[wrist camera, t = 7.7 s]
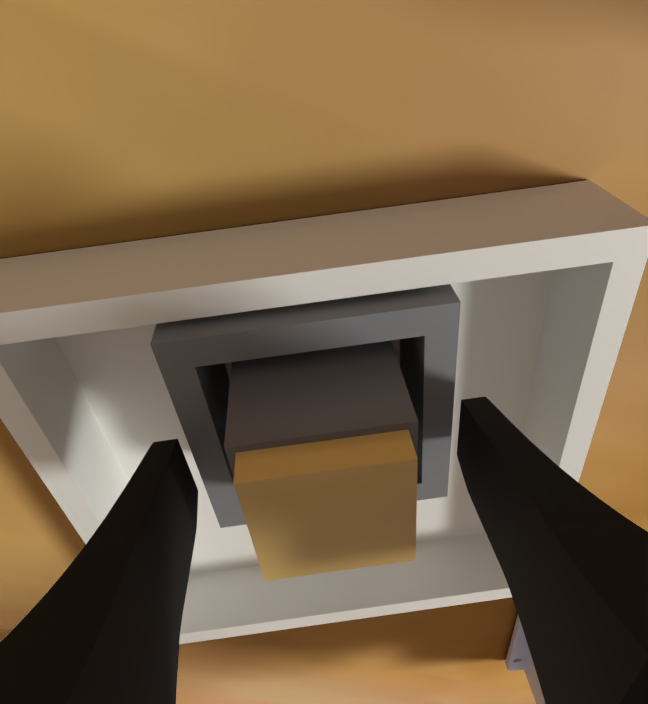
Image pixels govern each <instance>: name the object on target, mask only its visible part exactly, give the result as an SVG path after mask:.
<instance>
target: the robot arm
mask: <svg viewBox="0 0 648 704" xmlns="http://www.w3.org/2000/svg"><path fill="white" fill-rule="evenodd" d="M457 457H458V460H459V464H460V467H461V471H462V474H463V477H464V481H465V484H466V487H467V490H468V493H469V495H470V498H471V500H472V502H473V505H474V507H475V509H476V512H477V514H478V516H479V518H480V521H481V523H482V525H483V528H484V530H485V532H486V534H487V537H488V539H489V541H490V543H491V546H492V548H493V550H494V553H495V555H496V557H497V559H498V562H499V564H500V566H501V569H502V571H503V573H504V576H505V578H506V581H507V584H508V586H509V589H510V592H511V595H512V598H513V601H514V604H515V607H516V610H517V613H518V616H517V620H516V623H515V627H514V631H513V635H512V639H511V643H510V646H509V650H508V654H507V658H506V662H505V663H506V666H507V669H508V670H510V671H515V670H522V669H524V671H525V674H526V677H527V679H528V682H529V685H530V687H531V690H532V693H533V696H534V698H535V701H536V704H648V532H647V531H645V530H644V529H642V528H641V527H639V526H637V525H636V524H634V523H633V522H631V521H630V520H628V519H627V518H626V517H624V516H623V515H621V514H620V513H618V512H617V511H615V510H614V509H613V508H611V507H610V506H608V505H607V504H606V503H604V502H603V501H602V500H600V499H599V498H598V497H596V496H595V495H594V494H592V493H591V492H590V491H588V490H587V489H586V488H585V487H583V486H582V485H581V484H579V483H578V482H577V481H576V480H575V479H573V478H572V477H571V476H570V475H569V474H567V473H566V472H565V471H564V470H563V469H561V468H560V467H559V466H558V465H557V464H556V463H554V462H553V461H552V460H551V459H550V458H549V457H548V456H547V455H545V454H544V453H543V452H542V451H541V450H540V449H539V448H538V447H537V446H536V445H534V444H533V443H532V442H531V441H530V440H529V439H528V438H527V437H526V436H525V435H524V434H523V433H522V432H521V431H520V430H519V429H518V428H517V427H516V426H515V425H514V424H513V423H512V422H511V421H510V420H509V419H508V418H507V417H506V416H505V415H504V414H503V413H502V412H501V411H500V410H499V409H498V408H497V407H496V406H495V405H494V404H493V403H492V402H491V401H490V400H489V399H488V398H486V397H477V398H470V399H463V400H461V408H460V420H459V433H458V445H457ZM197 512H198V489H197V486H196V484H195V481H194V479H193V476H192V474H191V471H190V469H189V466H188V463H187V461H186V458H185V456H184V453H183V451H182V448H181V446H180V443H179V441H178V439H172V440H165V441H158V442H153V443H152V445H151V446H150V448H149V449H148V451H147V452H146V454H145V456H144V457H143V459H142V461H141V462H140V464H139V466H138V467H137V469H136V471H135V472H134V474H133V475H132V477H131V479H130V480H129V482H128V483H127V485H126V487H125V488H124V490H123V491H122V493H121V494H120V496H119V497H118V499H117V501H116V502H115V504H114V505H113V507H112V508H111V510H110V511H109V513H108V514H107V516H106V517H105V519H104V520H103V521H102V523H101V524H100V526H99V527H98V528H97V530H96V531H95V533H94V534H93V535H92V537H91V538H90V539H89V541H88V542H87V544H86V545H85V546H84V548H83V549H82V550H81V552H80V553H79V554H78V556H77V557H76V558H75V560H74V561H73V562H72V563H71V565H70V566H69V567H68V568H67V570H66V571H65V572H64V573H63V575H62V576H61V577H60V578H59V579H58V581H57V582H56V583H55V584H54V585H53V586H52V588H51V589H50V590H49V591H48V592H47V593H46V595H45V596H44V597H43V598H42V599H41V600H40V601H39V602H38V603H37V605H36V606H35V607H34V608H33V609H32V610H31V611H30V612H29V613H28V614H27V616H26V617H25V618H24V619H23V620H22V621H21V622H20V623H19V624H18V625H17V626H16V627H15V628H14V629H13V630H12V631H11V632H10V633H9V635H8V636H7V637H6V638H5V639H3V640H2V641H1V642H0V704H176V685H177V668H178V654H179V640H180V630H181V622H182V615H183V609H184V603H185V597H186V591H187V585H188V579H189V573H190V567H191V561H192V555H193V549H194V542H195V536H196V530H197Z"/></svg>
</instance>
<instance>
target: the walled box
mask: <svg viewBox="0 0 648 704" xmlns="http://www.w3.org/2000/svg"><path fill="white" fill-rule="evenodd" d="M647 258H648V218H647V217H646V216H644V215H643V214H641V213H640V212H638V211H636V210H635V209H633V208H632V207H630V206H629V205H627V204H626V203H624V202H623V201H621V200H619V199H618V198H616V197H615V196H613V195H612V194H610V193H609V192H607V191H606V190H604V189H603V188H601V187H599V186H598V185H596V184H595V183H593V182H592V181H590V180H586V181H579V182H571V183H564V184H556V185H549V186H541V187H534V188H526V189H519V190H512V191H504V192H497V193H489V194H482V195H474V196H467V197H459V198H452V199H444V200H437V201H429V202H422V203H414V204H407V205H400V206H392V207H385V208H377V209H370V210H362V211H355V212H347V213H340V214H332V215H325V216H317V217H310V218H302V219H295V220H288V221H280V222H273V223H265V224H258V225H250V226H243V227H235V228H228V229H220V230H213V231H205V232H198V233H190V234H183V235H176V236H168V237H161V238H153V239H146V240H138V241H131V242H123V243H116V244H108V245H101V246H93V247H86V248H78V249H71V250H64V251H56V252H49V253H41V254H34V255H26V256H19V257H11V258H4V259H0V419H1V420H2V422H3V423H4V425H5V426H6V428H7V429H8V430H9V432H10V433H11V435H12V436H13V438H14V439H15V441H16V442H17V444H18V445H19V447H20V448H21V450H22V451H23V453H24V454H25V456H26V457H27V459H28V460H29V461H30V463H31V464H32V466H33V467H34V469H35V470H36V472H37V473H38V475H39V476H40V478H41V479H42V481H43V482H44V484H45V485H46V487H47V488H48V489H49V491H50V492H51V494H52V495H53V497H54V498H55V500H56V501H57V503H58V504H59V506H60V507H61V509H62V510H63V512H64V513H65V515H66V516H67V518H68V519H69V520H70V522H71V523H72V525H73V526H74V528H75V529H76V531H77V532H78V534H79V535H80V537H81V538H82V540H83V541H84V543H85V544H87V542H88V541H89V539H90V538H91V537H92V535H93V534H94V533H95V531H96V530H97V528H98V527H99V526H100V524H101V523H102V521H103V520H104V519H105V517H106V516H107V514H108V513H109V511H110V510H111V508H112V507H113V505H114V504H115V502H116V501H117V499H118V497H119V496H120V494H121V493H122V491H123V490H124V488H125V487H126V485H127V483H128V482H129V480H130V479H131V477H132V475H133V474H134V472H135V471H136V469H137V467H138V466H139V464H140V462H141V461H142V459H143V457H144V456H145V454H146V452H147V451H148V449H149V448H150V446H151V445H152V443H153V442H158V441H165V440H172V439H178V441H179V443H180V446H181V448H182V451H183V453H184V456H185V458H186V461H187V463H188V466H189V469H190V471H191V474H192V476H193V479H194V481H195V484H196V486H197V489H198V512H197V530H196V536H195V542H194V549H193V555H192V561H191V567H190V573H189V579H188V585H187V591H186V597H185V603H184V609H183V615H182V622H181V630H180V640H179V644H185V643H192V642H200V641H207V640H214V639H221V638H228V637H235V636H242V635H249V634H256V633H263V632H270V631H277V630H284V629H292V628H299V627H306V626H313V625H320V624H327V623H334V622H341V621H348V620H355V619H362V618H369V617H376V616H383V615H391V614H398V613H405V612H412V611H419V610H426V609H433V608H440V607H447V606H454V605H461V604H468V603H475V602H483V601H490V600H497V599H504V598H511V597H512V595H511V592H510V589H509V586H508V584H507V581H506V578H505V576H504V573H503V571H502V569H501V566H500V564H499V562H498V559H497V557H496V555H495V553H494V550H493V548H492V546H491V543H490V541H489V539H488V537H487V534H486V532H485V530H484V528H483V525H482V523H481V521H480V518H479V516H478V514H477V512H476V509H475V507H474V505H473V502H472V500H471V498H470V495H469V493H468V490H467V487H466V484H465V481H464V477H463V474H462V471H461V467H460V464H459V460H458V457H457V445H458V433H459V420H460V408H461V400H463V399H470V398H477V397H486V398H488V399H489V400H490V401H491V402H492V403H493V404H494V405H495V406H496V407H497V408H498V409H499V410H500V411H501V412H502V413H503V414H504V415H505V416H506V417H507V418H508V419H509V420H510V421H511V422H512V423H513V424H514V425H515V426H516V427H517V428H518V429H519V430H520V431H521V432H522V433H523V434H524V435H525V436H526V437H527V438H528V439H529V440H530V441H531V442H532V443H533V444H534V445H536V446H537V447H538V448H539V449H540V450H541V451H542V452H543V453H544V454H545V455H547V456H548V457H549V458H550V459H551V460H552V461H553V462H554V463H556V464H557V465H558V466H559V467H560V468H561V469H563V470H564V471H565V472H566V473H567V474H569V475H570V476H571V477H572V478H573V479H575V480H576V481H577V482H579V478H580V475H581V472H582V469H583V465H584V462H585V459H586V456H587V452H588V449H589V446H590V443H591V440H592V436H593V433H594V430H595V427H596V423H597V420H598V417H599V414H600V410H601V407H602V404H603V401H604V397H605V394H606V391H607V388H608V384H609V381H610V378H611V375H612V372H613V368H614V365H615V362H616V359H617V355H618V352H619V349H620V346H621V342H622V339H623V336H624V333H625V329H626V326H627V323H628V320H629V316H630V313H631V310H632V307H633V303H634V300H635V297H636V294H637V291H638V287H639V284H640V281H641V278H642V274H643V271H644V268H645V265H646V261H647ZM390 340H391V342H392V345H393V348H394V351H395V354H396V357H397V360H398V363H399V366H400V368H401V371H402V374H403V377H404V380H405V383H406V386H407V389H408V392H409V395H410V398H411V401H412V404H413V407H414V410H415V413H416V416H417V419H418V465H417V517H416V560H414V561H407V562H400V563H392V564H385V565H378V566H371V567H363V568H356V569H349V570H342V571H334V572H327V573H320V574H313V575H305V576H298V577H291V578H284V579H276V580H269V581H265V580H264V577H263V574H262V571H261V568H260V565H259V562H258V558H257V555H256V552H255V549H254V546H253V543H252V540H251V537H250V533H249V530H248V527H247V524H246V521H245V518H244V515H243V512H242V508H241V505H240V502H239V499H238V496H237V493H236V490H235V486H234V478H233V474H232V471H231V468H230V465H229V462H228V459H227V455H226V452H225V449H224V441H225V430H226V419H227V409H228V398H229V387H230V376H231V365H232V362H236V361H244V360H251V359H258V358H266V357H273V356H280V355H288V354H295V353H302V352H310V351H317V350H324V349H332V348H339V347H346V346H354V345H361V344H368V343H376V342H383V341H390Z"/></svg>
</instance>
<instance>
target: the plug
mask: <svg viewBox="0 0 648 704" xmlns="http://www.w3.org/2000/svg"><path fill="white" fill-rule="evenodd" d="M224 449H225V452H226V455H227V459H228V462H229V465H230V468H231V471H232V474H233V478H234V486H235V490H236V493H237V496H238V499H239V502H240V505H241V508H242V512H243V515H244V518H245V521H246V524H247V527H248V530H249V533H250V537H251V540H252V543H253V546H254V549H255V552H256V555H257V558H258V562H259V565H260V568H261V571H262V574H263V577H264V580H265V581H269V580H276V579H284V578H291V577H298V576H305V575H313V574H320V573H327V572H334V571H342V570H349V569H356V568H363V567H371V566H378V565H385V564H392V563H400V562H407V561H414V560H416V517H417V465H418V419H417V416H416V413H415V410H414V407H413V404H412V401H411V398H410V395H409V392H408V389H407V386H406V383H405V380H404V377H403V374H402V371H401V368H400V366H399V363H398V360H397V357H396V354H395V351H394V348H393V345H392V342H391V340H390V341H383V342H376V343H368V344H361V345H354V346H346V347H339V348H332V349H324V350H317V351H310V352H302V353H295V354H288V355H280V356H273V357H266V358H258V359H251V360H244V361H236V362H232V365H231V376H230V387H229V398H228V409H227V419H226V430H225V441H224Z"/></svg>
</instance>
